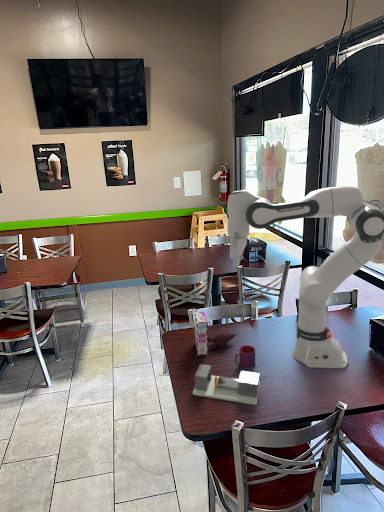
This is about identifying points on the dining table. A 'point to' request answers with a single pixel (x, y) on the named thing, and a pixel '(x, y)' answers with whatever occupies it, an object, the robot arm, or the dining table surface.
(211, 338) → the icecream
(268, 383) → the dining table surface
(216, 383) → the tube
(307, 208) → the robot arm
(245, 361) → the mug
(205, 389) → the socket
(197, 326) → the candy bar box
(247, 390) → the dark grey cube cap
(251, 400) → the board
